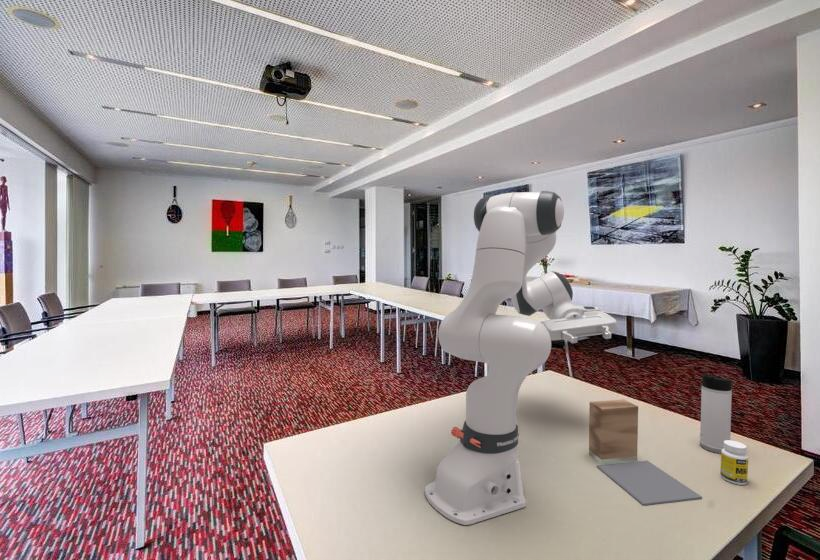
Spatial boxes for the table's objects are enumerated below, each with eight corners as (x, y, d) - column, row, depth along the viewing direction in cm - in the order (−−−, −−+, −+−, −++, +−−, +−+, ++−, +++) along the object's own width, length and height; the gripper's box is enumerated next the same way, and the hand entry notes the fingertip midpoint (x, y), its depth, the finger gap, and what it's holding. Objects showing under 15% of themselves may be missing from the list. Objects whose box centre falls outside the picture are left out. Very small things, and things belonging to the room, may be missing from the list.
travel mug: (693, 445, 103) (695, 373, 102) (710, 441, 105) (712, 370, 104) (718, 456, 97) (720, 379, 96) (735, 452, 99) (738, 377, 98)
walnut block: (588, 454, 99) (589, 401, 98) (623, 451, 100) (624, 399, 100) (601, 464, 94) (602, 409, 93) (637, 460, 95) (638, 406, 95)
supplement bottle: (737, 487, 84) (738, 450, 83) (715, 475, 88) (716, 440, 88) (752, 483, 85) (754, 447, 85) (730, 472, 90) (731, 437, 89)
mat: (596, 466, 92) (596, 465, 92) (647, 461, 95) (647, 460, 95) (643, 505, 78) (643, 503, 78) (702, 498, 80) (702, 496, 80)
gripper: (536, 314, 117) (554, 332, 104) (602, 306, 117) (628, 323, 103) (537, 332, 119) (554, 353, 105) (601, 324, 118) (627, 344, 105)
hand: (591, 338), depth 104 cm, fingers open, 8 cm apart
